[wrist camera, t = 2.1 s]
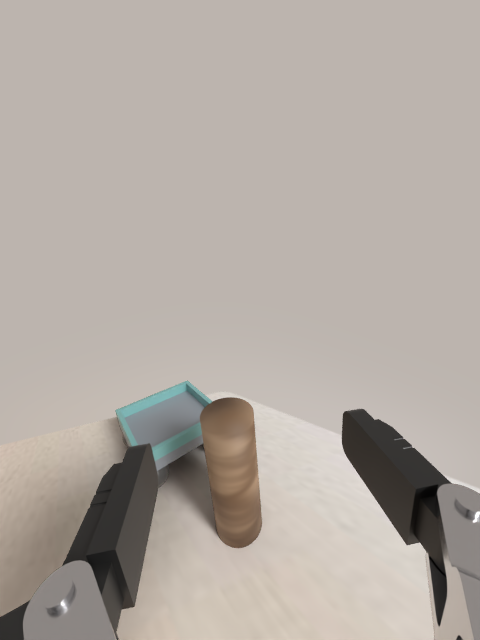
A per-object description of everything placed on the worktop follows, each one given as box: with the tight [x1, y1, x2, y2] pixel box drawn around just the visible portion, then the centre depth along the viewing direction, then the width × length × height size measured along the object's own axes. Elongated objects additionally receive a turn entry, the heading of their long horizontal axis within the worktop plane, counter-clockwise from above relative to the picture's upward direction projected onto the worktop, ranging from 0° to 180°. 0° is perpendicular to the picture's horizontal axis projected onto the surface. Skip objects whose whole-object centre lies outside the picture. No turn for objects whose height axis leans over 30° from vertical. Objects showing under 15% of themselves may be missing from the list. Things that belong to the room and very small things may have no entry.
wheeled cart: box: [116, 381, 212, 488], centre depth 37 cm, size 12×12×6 cm
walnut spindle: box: [200, 398, 262, 548], centre depth 25 cm, size 5×5×14 cm
